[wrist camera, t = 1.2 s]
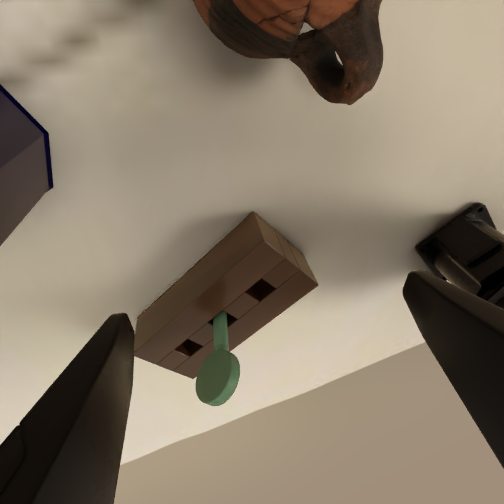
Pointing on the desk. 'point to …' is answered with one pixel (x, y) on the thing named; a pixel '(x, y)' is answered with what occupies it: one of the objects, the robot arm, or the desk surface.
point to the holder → (224, 297)
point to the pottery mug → (306, 39)
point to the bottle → (21, 163)
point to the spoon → (218, 367)
